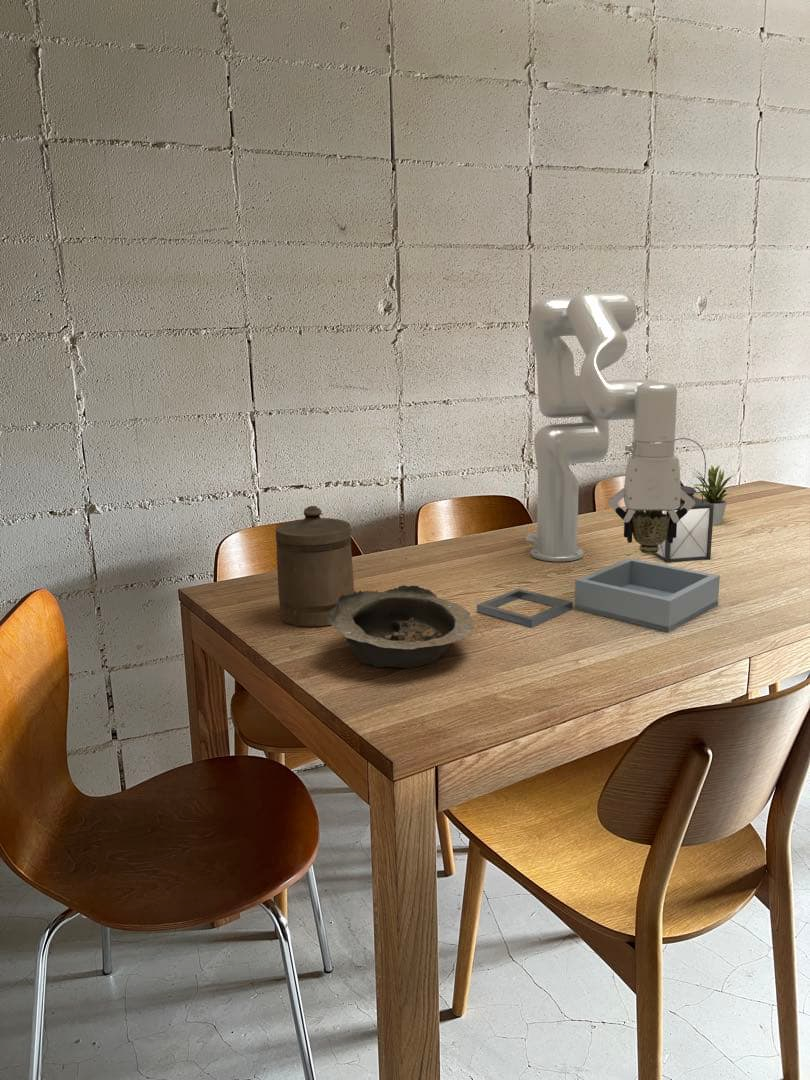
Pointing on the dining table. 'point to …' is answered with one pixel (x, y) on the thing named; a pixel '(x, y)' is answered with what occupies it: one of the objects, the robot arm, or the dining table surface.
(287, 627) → the dining table surface
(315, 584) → the wooden container
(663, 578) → the bin
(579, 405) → the robot arm
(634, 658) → the dining table surface
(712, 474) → the house plant
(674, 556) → the lantern
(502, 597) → the square metal frame
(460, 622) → the stone bowl
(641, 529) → the dark bronze rounded piece
